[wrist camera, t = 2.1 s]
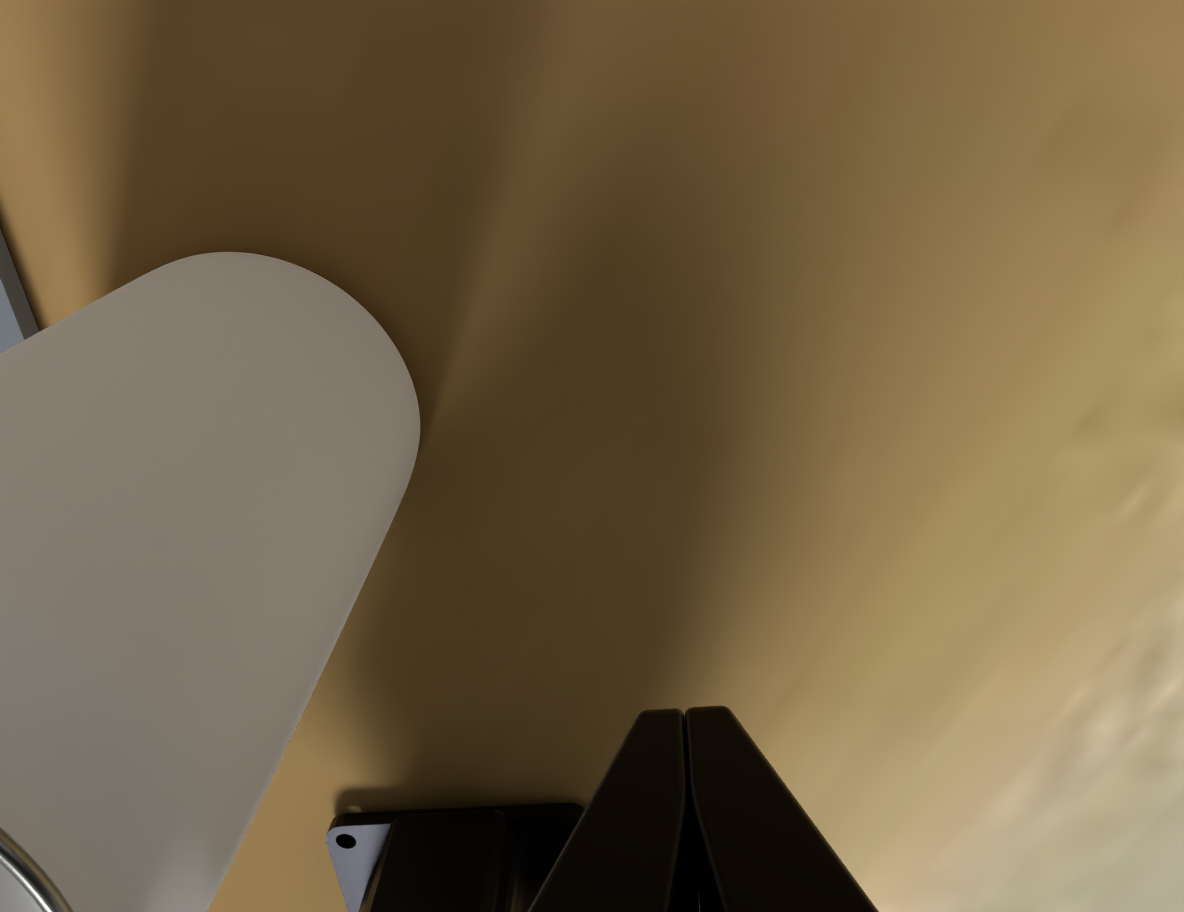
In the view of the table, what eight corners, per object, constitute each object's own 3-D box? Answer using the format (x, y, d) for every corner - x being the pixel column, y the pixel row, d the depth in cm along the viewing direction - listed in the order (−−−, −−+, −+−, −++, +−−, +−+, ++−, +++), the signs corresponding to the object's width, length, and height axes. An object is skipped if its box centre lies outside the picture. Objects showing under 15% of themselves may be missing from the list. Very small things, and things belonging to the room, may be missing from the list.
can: (350, 593, 21) (37, 1241, 10) (64, 457, 20) (-647, 1025, 9) (482, 351, 18) (252, 872, 7) (160, 178, 17) (-677, 494, 6)
